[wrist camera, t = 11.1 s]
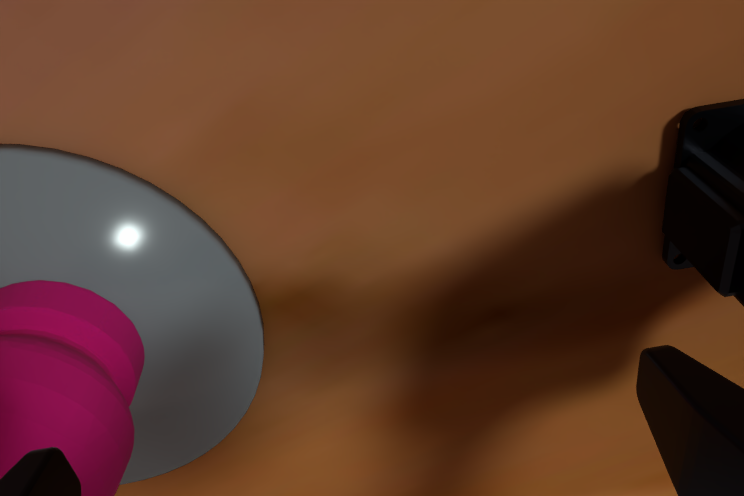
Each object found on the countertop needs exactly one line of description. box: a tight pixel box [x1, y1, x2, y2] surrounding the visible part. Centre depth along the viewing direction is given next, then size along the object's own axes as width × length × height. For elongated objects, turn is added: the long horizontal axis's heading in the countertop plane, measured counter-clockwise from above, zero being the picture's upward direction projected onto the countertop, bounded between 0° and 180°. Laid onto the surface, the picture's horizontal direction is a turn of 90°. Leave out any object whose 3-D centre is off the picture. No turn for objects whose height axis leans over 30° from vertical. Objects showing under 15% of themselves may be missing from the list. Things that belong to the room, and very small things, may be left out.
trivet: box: [0, 144, 264, 485], centre depth 24 cm, size 16×16×1 cm
